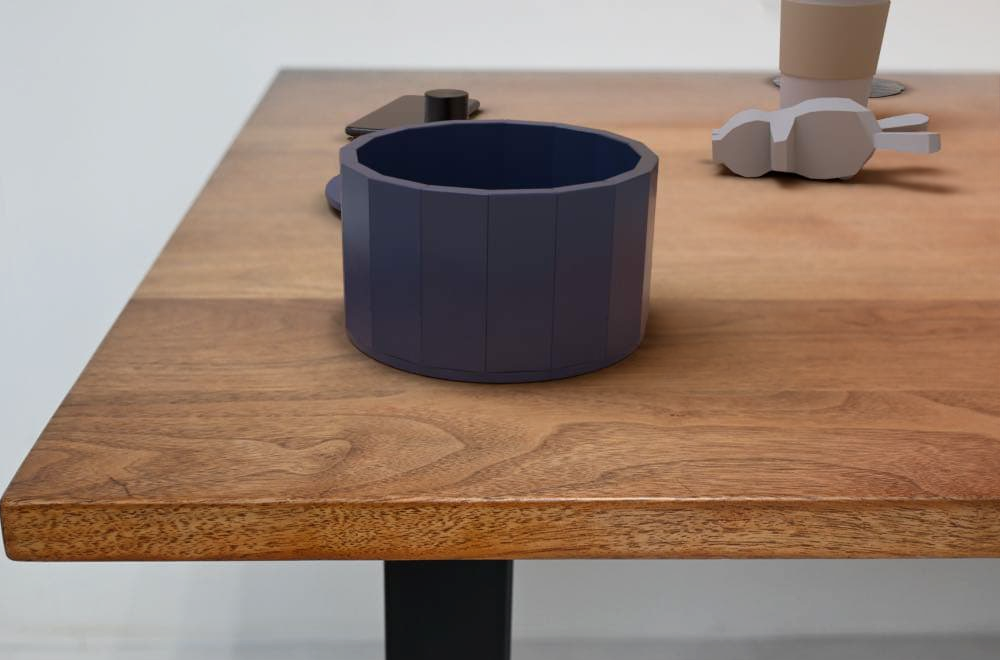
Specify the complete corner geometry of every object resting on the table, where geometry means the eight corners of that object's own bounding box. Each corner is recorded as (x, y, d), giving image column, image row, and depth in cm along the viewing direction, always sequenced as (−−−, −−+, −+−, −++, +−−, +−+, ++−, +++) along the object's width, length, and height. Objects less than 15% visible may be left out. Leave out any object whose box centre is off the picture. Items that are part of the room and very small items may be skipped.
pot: (607, 270, 69) (615, 117, 66) (680, 376, 56) (696, 189, 52) (340, 279, 67) (335, 122, 64) (350, 390, 54) (345, 198, 51)
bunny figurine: (712, 99, 93) (925, 83, 90) (714, 166, 95) (923, 153, 92) (710, 126, 85) (946, 109, 81) (713, 199, 87) (943, 186, 83)
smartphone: (402, 103, 111) (340, 137, 98) (402, 93, 111) (340, 127, 98) (483, 108, 109) (431, 144, 96) (483, 98, 109) (431, 133, 96)
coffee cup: (897, 130, 102) (925, -63, 97) (795, 135, 101) (817, -62, 95) (843, 108, 110) (866, -71, 105) (748, 112, 109) (765, -71, 103)
